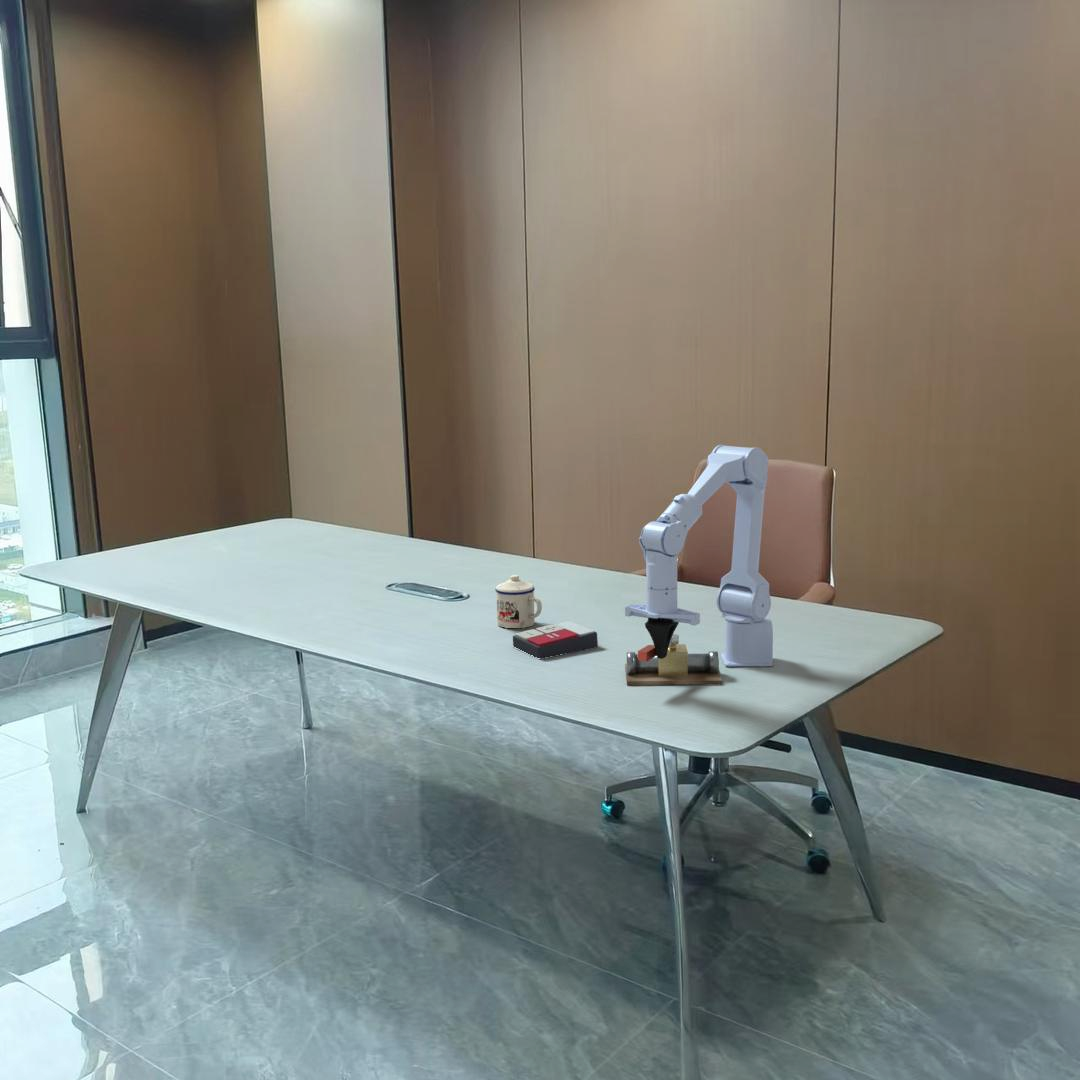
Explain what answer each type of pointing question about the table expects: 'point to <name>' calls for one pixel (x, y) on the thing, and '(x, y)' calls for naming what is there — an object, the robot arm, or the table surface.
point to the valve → (675, 662)
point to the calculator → (555, 639)
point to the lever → (650, 651)
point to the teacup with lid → (516, 603)
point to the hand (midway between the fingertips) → (662, 657)
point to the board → (672, 678)
